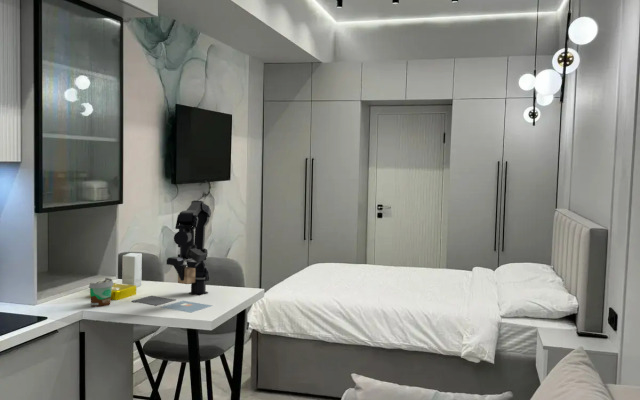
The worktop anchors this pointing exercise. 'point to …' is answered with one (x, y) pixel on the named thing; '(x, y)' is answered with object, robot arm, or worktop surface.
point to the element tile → (122, 291)
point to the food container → (101, 293)
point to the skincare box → (132, 269)
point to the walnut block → (188, 276)
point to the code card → (186, 306)
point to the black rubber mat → (153, 300)
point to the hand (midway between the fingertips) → (186, 279)
